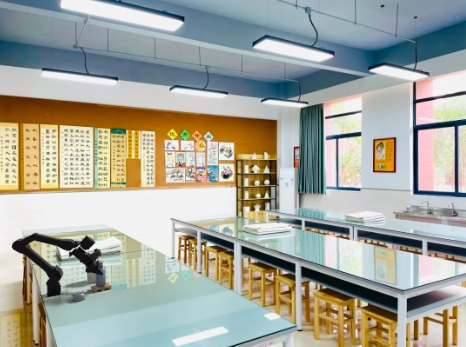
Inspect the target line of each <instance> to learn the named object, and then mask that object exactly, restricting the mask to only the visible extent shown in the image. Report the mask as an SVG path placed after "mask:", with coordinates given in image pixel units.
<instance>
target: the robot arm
mask: <svg viewBox="0 0 466 347" xmlns="http://www.w3.org/2000/svg"><path fill="white" fill-rule="evenodd" d="M33 242H38V243H42V244H47V245H50V246H51V245H52V246H54V247H55V246H56V247H58V248H59V249H61V250H63V251H66V252H68V258H71V257H72V256H74V258H76V259H77V260H78V261H79V263H80V264H83V265H84V268H85V269H84V271H85V273H86V274H87V273H95V274H99V275H103V273H102V271H101V270H100V269H99V268H98V261H99V259H100V258H99V257H101V256H102V254H103V253H102V251H101V249H100V248H97V247H96V248H94V250H93V252H87V251H89V250H90V249H91V248H92V247H93V246H94V245H95V244H96V242H97V241H95V240H94V238H92V237H90V236H88V235H85V236H84V237H83V238H82V240H74V239H72V238H59V237H58V238H57V237H55V236H50V235H46V234H41V233H38V232H33V233H31V234H30V235H27V236H26V237H24V238H23V237H19V238H18V239H16V240H15V241H14V242H12V244H11V248H12V250H13V251H15V252H17V253H18V254H21V255H24V256H25V257H27V258H28V259H29V260H30V261H32V262H33V263H34V264H35V265H36V266H38V267H39V268H40V269H41V270H43V271H44V273H45V274H46V276H47V277H48V279H47V280H46V282H45V285H46V294H45V295H46V296H47V297H48V298H51V297H55V296H60V295H61V293H62V285H61V283H60V281H61V280H62V279H63V277H64V270H63V268H62V267H60V266H59V265H58V264H56V265H53V264H51V263H49V262H48V261H47V260H46V259H45V258H43V257H42V255H40V254H39V253H37V252H36V251H35V250H34V249H33V248H32V247H31V243H33ZM97 259H98V260H97ZM96 260H97V261H96Z"/></svg>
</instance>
